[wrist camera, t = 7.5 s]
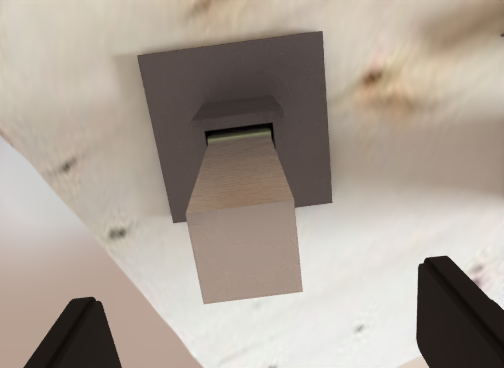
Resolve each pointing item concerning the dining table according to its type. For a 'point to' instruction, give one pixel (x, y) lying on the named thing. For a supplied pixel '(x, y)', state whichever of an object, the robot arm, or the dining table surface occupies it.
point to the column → (243, 219)
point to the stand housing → (241, 109)
